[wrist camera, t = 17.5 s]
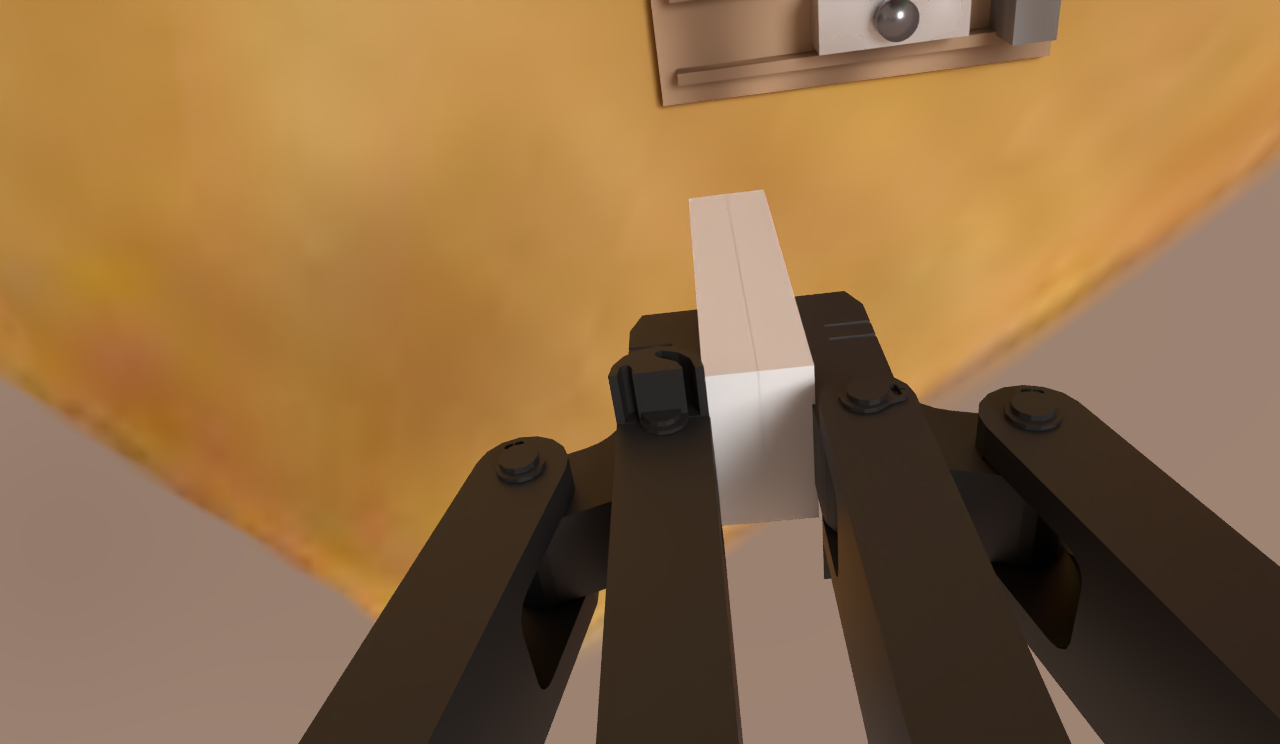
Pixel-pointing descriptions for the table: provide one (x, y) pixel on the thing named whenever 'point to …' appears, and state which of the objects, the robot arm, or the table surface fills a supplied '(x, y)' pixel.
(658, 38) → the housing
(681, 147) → the table surface
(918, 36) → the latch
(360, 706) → the robot arm
